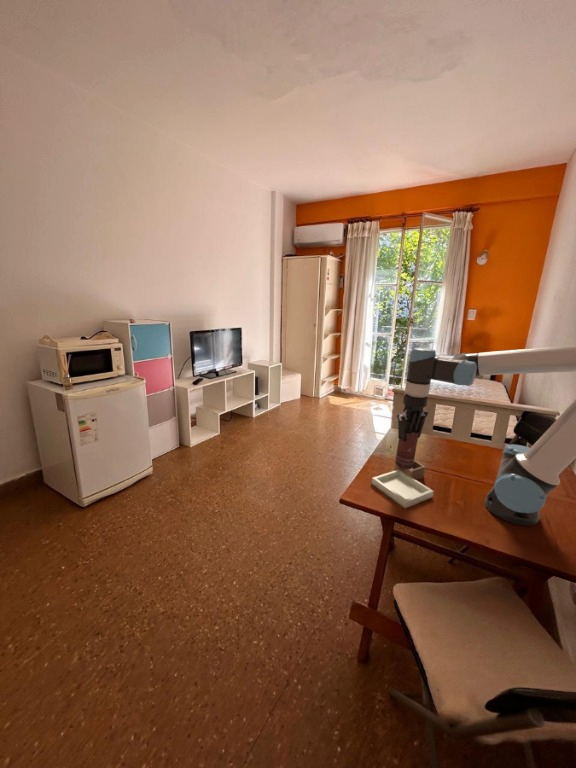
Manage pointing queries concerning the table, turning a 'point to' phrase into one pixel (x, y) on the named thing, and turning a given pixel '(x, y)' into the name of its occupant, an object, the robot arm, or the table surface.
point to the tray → (402, 488)
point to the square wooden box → (414, 470)
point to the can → (406, 451)
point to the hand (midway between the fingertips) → (406, 456)
